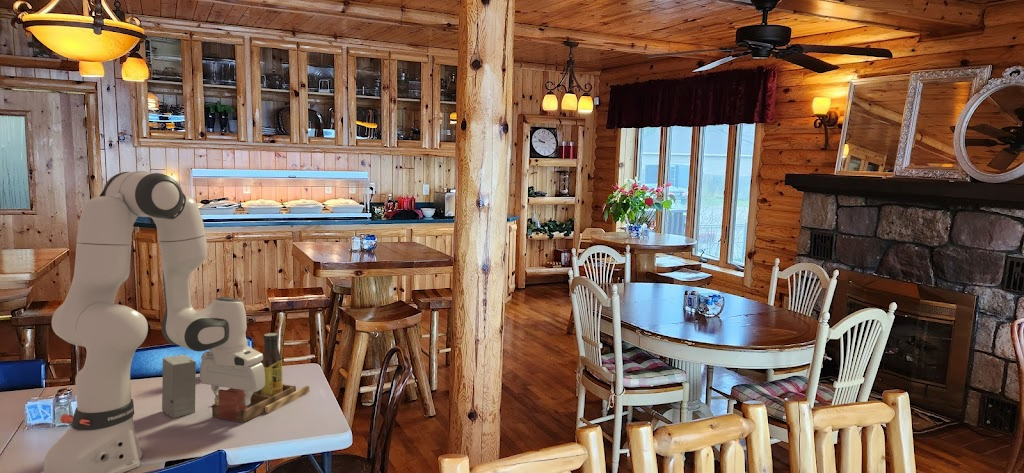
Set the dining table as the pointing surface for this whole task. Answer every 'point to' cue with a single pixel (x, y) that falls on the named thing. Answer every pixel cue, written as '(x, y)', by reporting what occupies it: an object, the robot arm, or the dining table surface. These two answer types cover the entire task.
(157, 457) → the dining table surface
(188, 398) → the skincare box
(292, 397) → the oak lane rails
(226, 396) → the wooden condiment caddy
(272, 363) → the sauce bottle
